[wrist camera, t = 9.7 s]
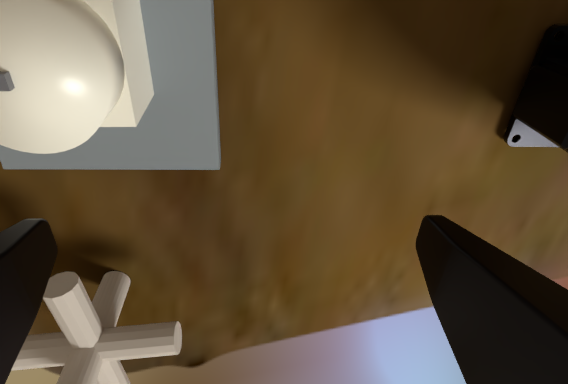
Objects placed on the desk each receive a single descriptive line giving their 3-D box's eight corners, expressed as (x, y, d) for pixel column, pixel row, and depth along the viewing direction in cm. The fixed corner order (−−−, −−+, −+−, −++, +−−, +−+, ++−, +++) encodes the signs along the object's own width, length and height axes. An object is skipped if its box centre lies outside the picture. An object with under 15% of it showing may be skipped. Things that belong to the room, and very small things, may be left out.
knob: (135, -27, 15) (81, -10, 10) (154, 94, 18) (119, 156, 13) (2, -32, 15) (-127, -16, 10) (42, 94, 18) (-41, 159, 12)
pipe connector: (10, 230, 23) (-125, 392, 15) (174, 216, 24) (134, 367, 15) (68, 332, 29) (-5, 493, 20) (201, 320, 29) (182, 472, 21)
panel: (206, -143, 14) (189, -174, 11) (220, 159, 22) (214, 207, 18) (-125, -168, 13) (-278, -213, 9) (6, 157, 21) (-52, 209, 17)
